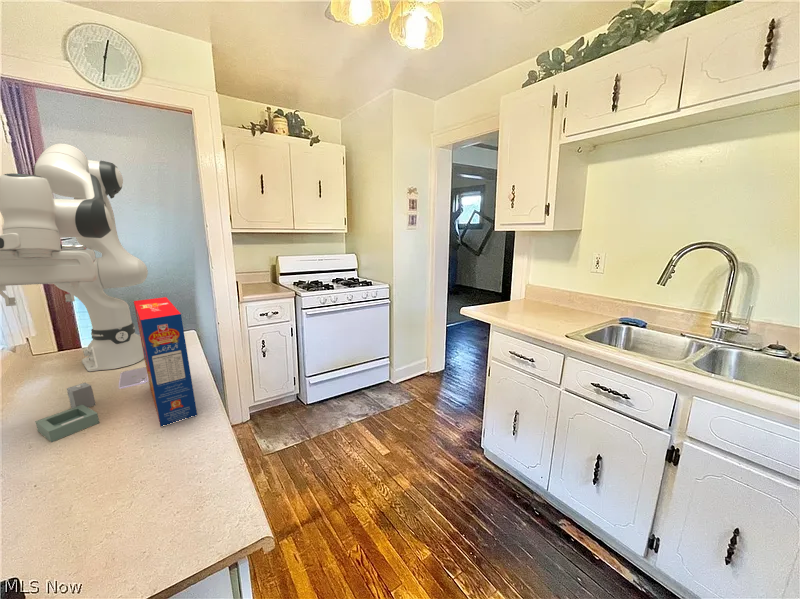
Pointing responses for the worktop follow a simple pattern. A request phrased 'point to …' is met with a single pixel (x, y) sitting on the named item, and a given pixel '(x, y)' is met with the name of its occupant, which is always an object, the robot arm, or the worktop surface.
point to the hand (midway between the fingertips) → (42, 303)
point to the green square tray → (67, 422)
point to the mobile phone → (133, 377)
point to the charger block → (81, 395)
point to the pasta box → (166, 359)
